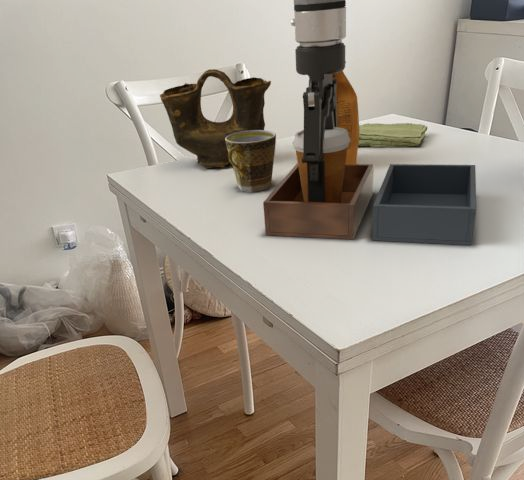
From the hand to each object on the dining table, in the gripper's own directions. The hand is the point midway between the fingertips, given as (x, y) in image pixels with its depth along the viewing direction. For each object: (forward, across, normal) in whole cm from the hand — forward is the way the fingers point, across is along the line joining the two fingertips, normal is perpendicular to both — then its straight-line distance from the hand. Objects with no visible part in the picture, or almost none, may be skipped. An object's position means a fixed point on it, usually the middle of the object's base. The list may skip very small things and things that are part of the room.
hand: (322, 192), depth 93 cm
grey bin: (+4, 0, +18) cm, 18 cm away
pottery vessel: (+4, -30, -30) cm, 43 cm away
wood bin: (+4, 0, 0) cm, 4 cm away
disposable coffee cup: (+2, 0, 0) cm, 2 cm away
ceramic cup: (+4, -12, -18) cm, 22 cm away
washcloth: (+4, -50, +6) cm, 50 cm away
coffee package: (+4, -29, -4) cm, 29 cm away
